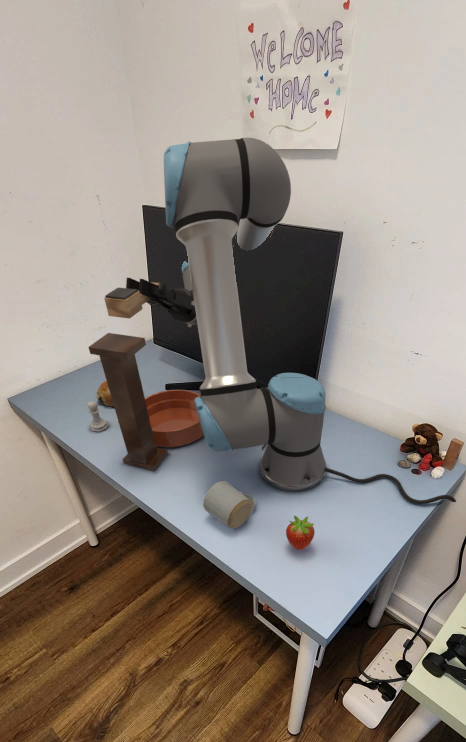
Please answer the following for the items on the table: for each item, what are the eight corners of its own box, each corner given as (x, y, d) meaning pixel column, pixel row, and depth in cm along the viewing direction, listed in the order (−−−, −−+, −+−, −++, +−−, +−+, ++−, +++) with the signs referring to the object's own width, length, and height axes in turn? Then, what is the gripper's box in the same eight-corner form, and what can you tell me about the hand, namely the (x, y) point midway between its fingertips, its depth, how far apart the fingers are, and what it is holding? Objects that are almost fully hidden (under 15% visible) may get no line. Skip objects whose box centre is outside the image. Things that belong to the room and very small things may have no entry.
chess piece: (87, 430, 117) (78, 405, 112) (97, 421, 120) (88, 396, 115) (102, 433, 116) (93, 408, 110) (111, 423, 119) (103, 398, 113)
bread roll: (125, 417, 127) (131, 396, 122) (91, 406, 124) (95, 383, 119) (132, 400, 134) (137, 379, 129) (99, 388, 131) (104, 366, 126)
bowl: (222, 413, 120) (220, 396, 116) (190, 455, 107) (187, 438, 103) (160, 401, 126) (157, 384, 122) (123, 440, 113) (118, 423, 109)
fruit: (291, 560, 82) (293, 533, 77) (281, 540, 86) (283, 513, 80) (316, 552, 83) (320, 526, 78) (306, 534, 87) (309, 507, 81)
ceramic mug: (230, 536, 87) (229, 511, 82) (204, 517, 91) (200, 491, 86) (264, 510, 92) (265, 484, 87) (238, 492, 97) (237, 466, 91)
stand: (168, 454, 108) (144, 337, 86) (154, 471, 103) (126, 352, 82) (138, 447, 111) (108, 332, 89) (123, 463, 106) (88, 347, 85)
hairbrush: (166, 292, 93) (163, 272, 90) (129, 318, 83) (125, 298, 81) (146, 290, 95) (143, 271, 92) (108, 316, 85) (103, 295, 82)
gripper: (212, 326, 106) (165, 308, 85) (158, 319, 111) (101, 301, 90) (216, 293, 104) (169, 267, 83) (161, 288, 109) (103, 262, 87)
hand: (134, 285), depth 86 cm, fingers closed on hairbrush, 2 cm apart
